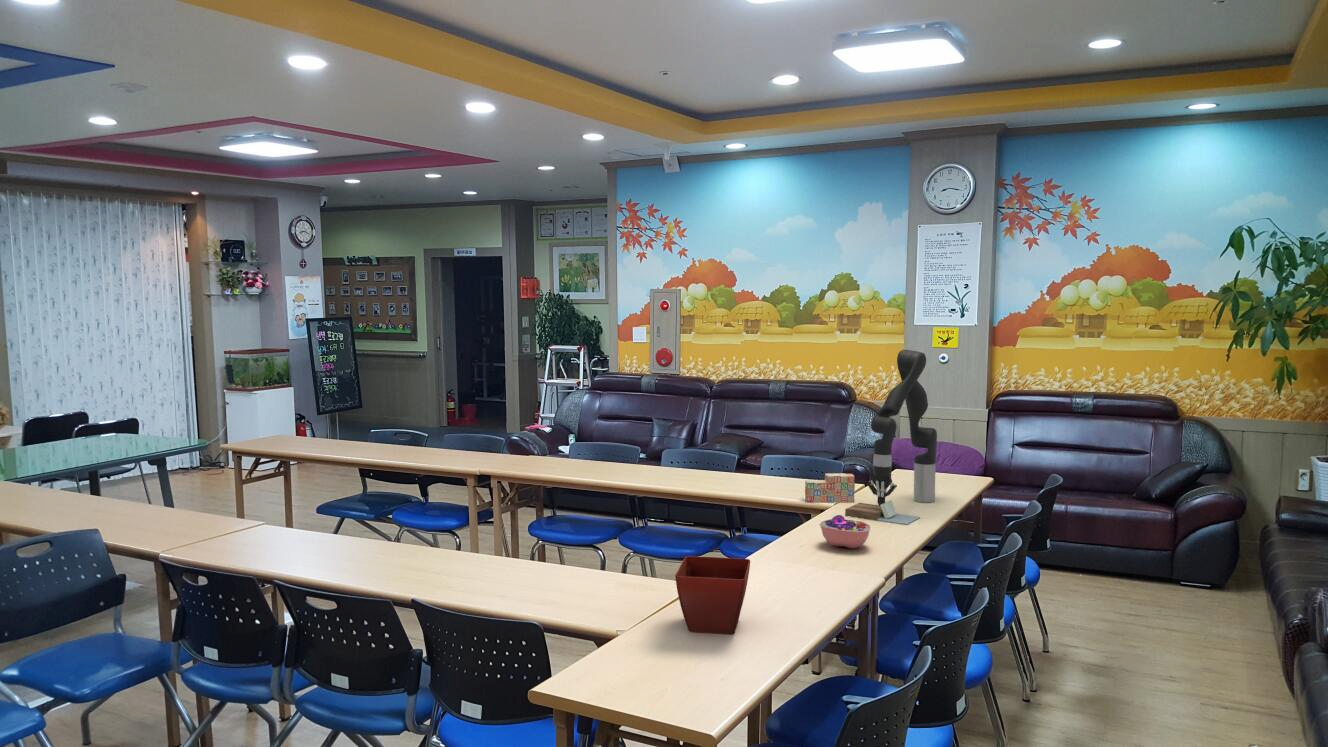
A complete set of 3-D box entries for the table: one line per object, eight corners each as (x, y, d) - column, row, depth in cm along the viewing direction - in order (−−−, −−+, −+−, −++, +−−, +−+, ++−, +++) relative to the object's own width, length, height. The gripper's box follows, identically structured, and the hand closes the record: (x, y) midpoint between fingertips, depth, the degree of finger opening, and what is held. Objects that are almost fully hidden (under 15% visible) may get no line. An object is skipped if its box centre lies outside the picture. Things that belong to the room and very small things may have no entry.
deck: (859, 509, 387) (859, 502, 387) (890, 513, 379) (890, 506, 378) (845, 516, 375) (845, 509, 375) (876, 520, 367) (876, 513, 367)
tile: (887, 501, 376) (891, 500, 374) (892, 514, 375) (896, 513, 374) (880, 504, 369) (884, 503, 368) (885, 518, 368) (889, 517, 367)
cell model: (848, 557, 316) (848, 525, 315) (809, 544, 333) (809, 514, 332) (881, 549, 325) (882, 518, 324) (842, 537, 342) (842, 508, 341)
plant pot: (745, 640, 239) (745, 579, 238) (674, 636, 242) (674, 575, 241) (750, 615, 258) (750, 558, 256) (685, 612, 261) (685, 555, 260)
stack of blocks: (806, 503, 401) (806, 475, 400) (804, 499, 407) (805, 473, 406) (854, 502, 400) (854, 475, 399) (852, 499, 406) (852, 473, 405)
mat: (890, 513, 379) (890, 512, 379) (920, 517, 371) (920, 516, 371) (876, 520, 367) (876, 519, 367) (907, 525, 360) (907, 523, 359)
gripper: (901, 465, 371) (899, 506, 372) (871, 461, 379) (869, 501, 380) (894, 467, 365) (892, 509, 366) (863, 463, 373) (862, 504, 374)
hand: (881, 505), depth 373 cm, fingers closed
